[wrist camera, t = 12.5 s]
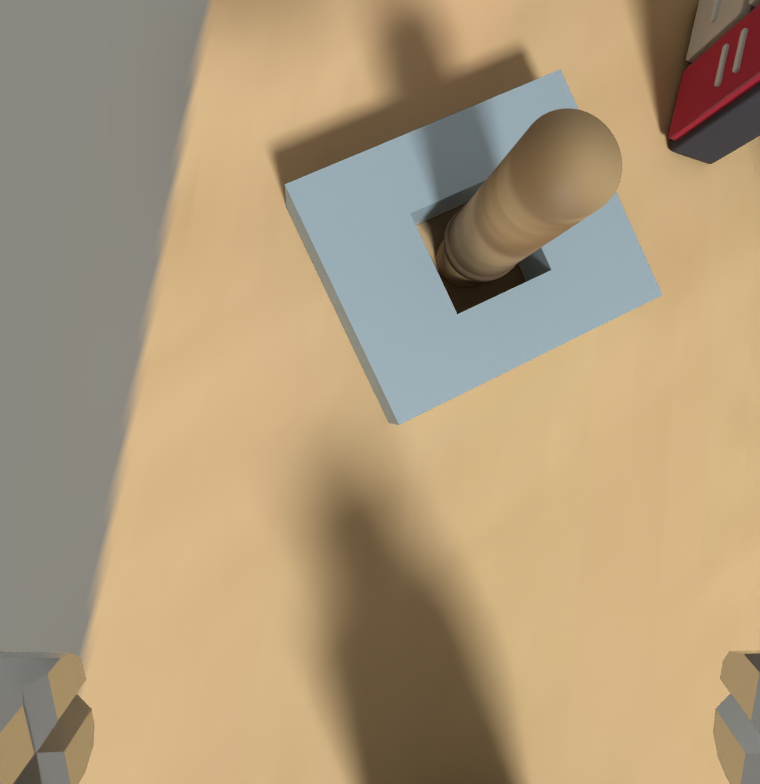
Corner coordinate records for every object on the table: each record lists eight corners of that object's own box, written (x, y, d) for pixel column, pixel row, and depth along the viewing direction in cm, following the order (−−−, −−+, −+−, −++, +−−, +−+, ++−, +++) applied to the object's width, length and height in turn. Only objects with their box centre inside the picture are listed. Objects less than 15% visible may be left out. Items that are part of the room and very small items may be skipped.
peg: (479, 213, 35) (596, 87, 21) (509, 277, 35) (644, 193, 21) (417, 240, 35) (496, 129, 21) (447, 305, 35) (545, 238, 21)
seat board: (535, 101, 36) (560, 69, 32) (627, 305, 36) (662, 294, 33) (286, 207, 34) (284, 184, 30) (389, 422, 34) (399, 424, 31)
